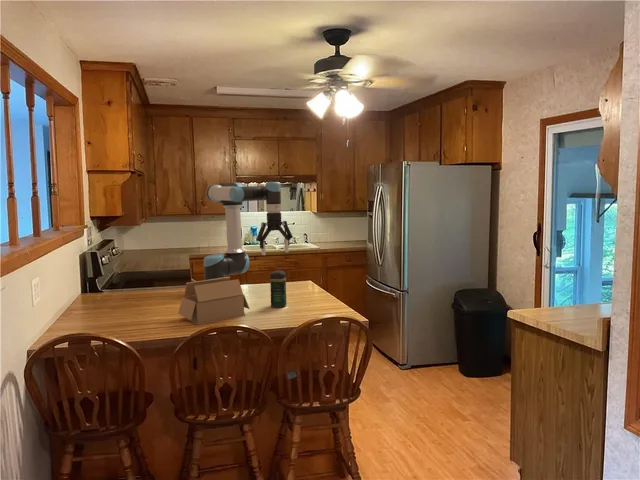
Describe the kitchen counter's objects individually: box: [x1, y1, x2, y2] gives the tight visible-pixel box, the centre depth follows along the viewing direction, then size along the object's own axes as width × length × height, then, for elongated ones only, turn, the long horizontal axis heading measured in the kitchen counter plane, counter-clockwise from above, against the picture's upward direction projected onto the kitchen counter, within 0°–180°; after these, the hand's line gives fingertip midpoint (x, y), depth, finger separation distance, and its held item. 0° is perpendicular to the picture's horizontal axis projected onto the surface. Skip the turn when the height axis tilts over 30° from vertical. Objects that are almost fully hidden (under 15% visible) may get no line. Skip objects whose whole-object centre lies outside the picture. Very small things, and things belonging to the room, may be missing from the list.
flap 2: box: [194, 279, 244, 302], centre depth 241 cm, size 1×23×8 cm, turn 126°
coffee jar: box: [269, 269, 288, 309], centre depth 265 cm, size 10×8×19 cm
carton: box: [177, 294, 250, 326], centre depth 248 cm, size 16×31×10 cm, turn 127°
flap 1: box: [183, 276, 231, 297], centre depth 252 cm, size 1×23×8 cm
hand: (275, 253), depth 263 cm, fingers open, 13 cm apart
